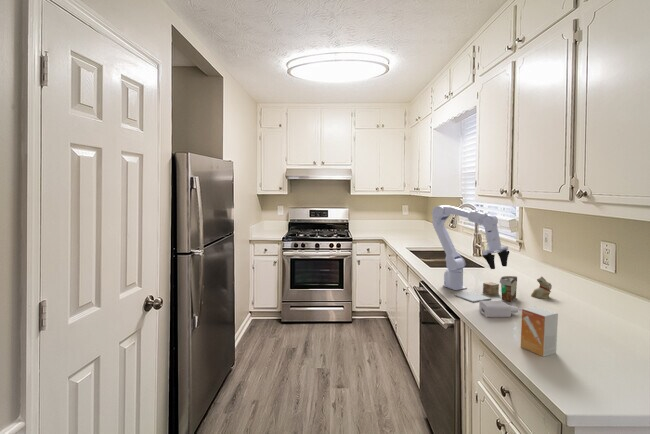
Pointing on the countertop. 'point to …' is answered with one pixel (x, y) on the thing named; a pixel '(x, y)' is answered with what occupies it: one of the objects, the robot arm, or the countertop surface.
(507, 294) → the food container
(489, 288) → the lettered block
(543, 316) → the small box
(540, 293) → the chocolate bunny
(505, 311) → the charger
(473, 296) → the slate board
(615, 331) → the countertop surface
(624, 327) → the countertop surface
